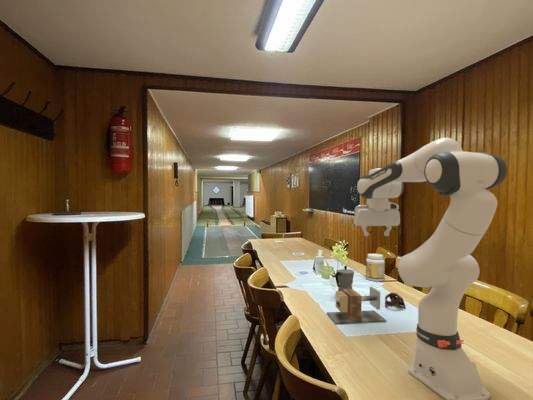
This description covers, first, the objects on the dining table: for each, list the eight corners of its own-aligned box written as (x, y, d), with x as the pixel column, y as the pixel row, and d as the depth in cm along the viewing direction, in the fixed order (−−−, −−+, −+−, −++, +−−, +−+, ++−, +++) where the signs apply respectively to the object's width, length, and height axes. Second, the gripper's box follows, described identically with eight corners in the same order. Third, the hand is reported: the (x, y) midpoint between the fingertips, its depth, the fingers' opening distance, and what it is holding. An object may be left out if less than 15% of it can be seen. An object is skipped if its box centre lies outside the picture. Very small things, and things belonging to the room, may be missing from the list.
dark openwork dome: (409, 311, 153) (403, 298, 151) (391, 318, 154) (385, 305, 153) (401, 297, 164) (395, 285, 163) (384, 304, 166) (378, 292, 164)
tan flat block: (341, 306, 146) (341, 291, 146) (347, 312, 139) (347, 296, 139) (335, 306, 146) (335, 291, 146) (341, 312, 138) (341, 296, 138)
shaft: (371, 303, 148) (372, 287, 148) (380, 309, 140) (380, 292, 140) (333, 305, 146) (333, 288, 146) (339, 311, 138) (339, 293, 138)
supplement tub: (362, 277, 214) (362, 253, 214) (376, 276, 218) (377, 252, 217) (373, 282, 202) (373, 257, 202) (388, 281, 206) (388, 256, 206)
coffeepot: (345, 293, 179) (345, 262, 179) (359, 297, 172) (359, 265, 172) (328, 299, 169) (328, 266, 169) (342, 303, 162) (342, 269, 162)
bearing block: (373, 311, 151) (374, 287, 151) (386, 321, 139) (386, 295, 139) (326, 314, 148) (326, 289, 148) (335, 324, 136) (335, 297, 136)
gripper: (357, 205, 131) (357, 237, 132) (402, 205, 134) (401, 236, 135) (351, 204, 138) (351, 235, 138) (394, 204, 140) (393, 234, 141)
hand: (376, 235), depth 136 cm, fingers open, 8 cm apart
